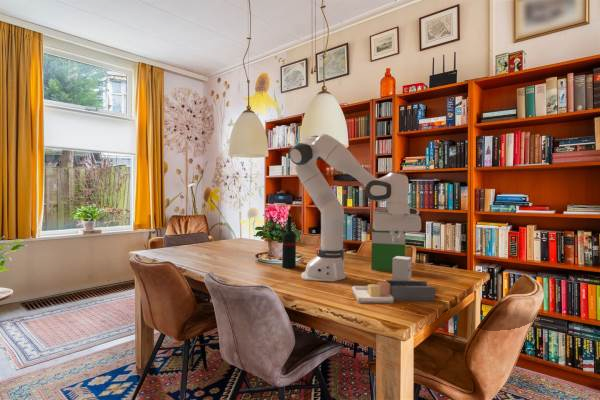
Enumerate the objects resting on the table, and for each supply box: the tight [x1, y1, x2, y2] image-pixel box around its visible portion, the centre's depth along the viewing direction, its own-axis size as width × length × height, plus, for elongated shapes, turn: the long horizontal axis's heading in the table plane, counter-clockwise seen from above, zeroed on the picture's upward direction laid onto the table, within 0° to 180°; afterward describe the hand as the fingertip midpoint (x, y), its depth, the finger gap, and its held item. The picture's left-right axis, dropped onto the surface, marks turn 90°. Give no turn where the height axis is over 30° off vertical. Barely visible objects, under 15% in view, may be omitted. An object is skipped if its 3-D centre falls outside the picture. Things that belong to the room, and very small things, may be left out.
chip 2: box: [376, 280, 390, 294], centre depth 139 cm, size 4×4×4 cm
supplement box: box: [391, 256, 413, 281], centre depth 159 cm, size 7×7×13 cm
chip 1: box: [367, 283, 380, 297], centre depth 139 cm, size 4×4×4 cm
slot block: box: [385, 279, 436, 302], centre depth 140 cm, size 17×10×6 cm, turn 90°
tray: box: [351, 285, 395, 304], centre depth 140 cm, size 14×16×2 cm
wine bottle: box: [281, 213, 297, 269], centre depth 193 cm, size 8×10×30 cm
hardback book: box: [370, 225, 406, 272], centre depth 188 cm, size 18×7×24 cm, turn 75°
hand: (396, 241), depth 147 cm, fingers closed
